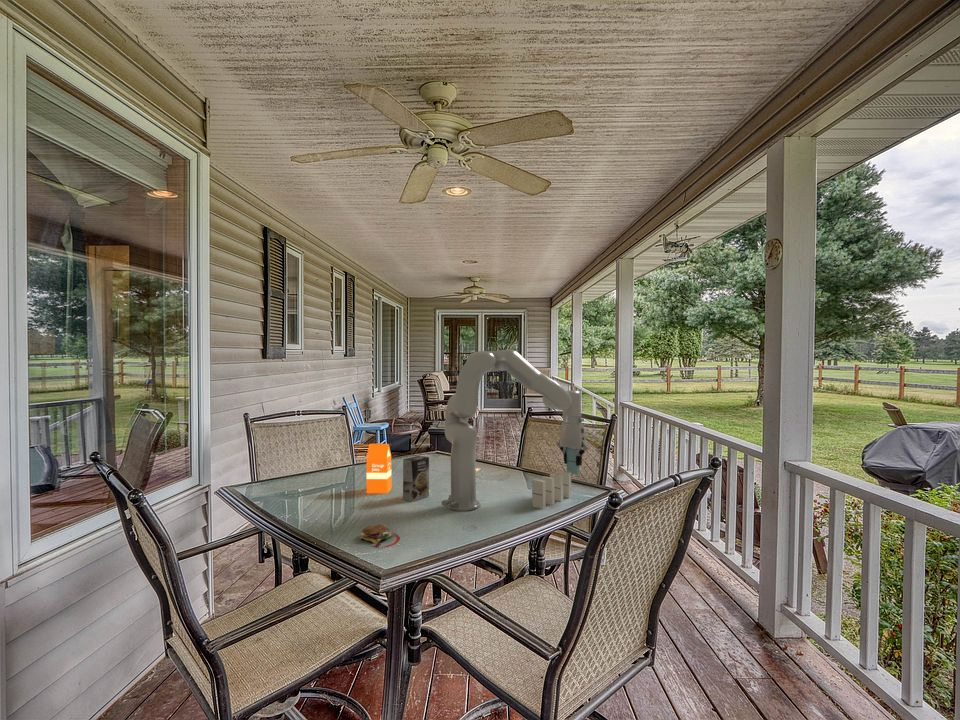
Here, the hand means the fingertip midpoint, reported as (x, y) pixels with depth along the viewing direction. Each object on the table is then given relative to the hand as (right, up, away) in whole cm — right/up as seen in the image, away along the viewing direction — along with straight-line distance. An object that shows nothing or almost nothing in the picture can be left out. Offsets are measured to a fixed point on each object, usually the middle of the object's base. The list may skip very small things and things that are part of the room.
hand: (572, 463), depth 187 cm
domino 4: (-4, -12, -5) cm, 14 cm away
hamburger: (-70, -13, -49) cm, 86 cm away
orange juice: (-82, -13, +6) cm, 83 cm away
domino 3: (-8, -12, -9) cm, 17 cm away
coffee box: (-64, -13, -5) cm, 66 cm away
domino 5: (0, -4, 0) cm, 4 cm away
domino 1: (-16, -12, -18) cm, 27 cm away
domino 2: (-12, -12, -13) cm, 22 cm away
